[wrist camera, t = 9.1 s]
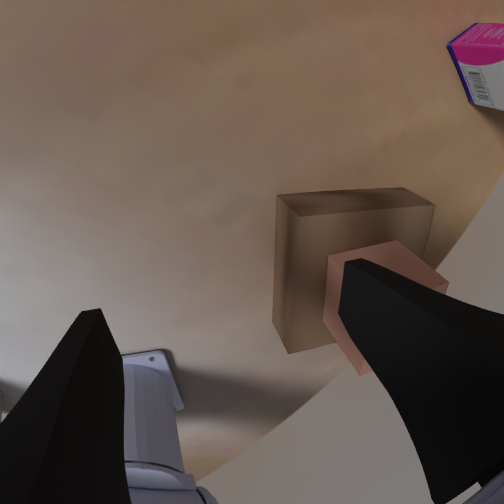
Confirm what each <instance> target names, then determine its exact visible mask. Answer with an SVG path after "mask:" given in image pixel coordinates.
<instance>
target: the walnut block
mask: <svg viewBox="0 0 504 504" xmlns="http://www.w3.org/2000/svg"><path fill="white" fill-rule="evenodd" d="M434 207H435V205H434V204H432V203H430V202H428V201H427V200H425V199H423V198H421V197H419V196H417V195H416V194H414V193H412V192H410V191H408V190H406V189H404V188H376V189H355V190H337V191H321V192H307V193H293V194H281V195H277V197H276V234H275V264H274V290H273V314H272V322H273V324H274V326H275V328H276V330H277V332H278V334H279V336H280V338H281V340H282V342H283V344H284V346H285V348H286V350H287V352H288V354H291V353H295V352H299V351H304V350H308V349H312V348H316V347H319V346H323V345H327V344H331V343H335V342H337V341H336V340H335V338H334V337H333V335H332V334H331V332H330V331H329V329H328V328H327V326H326V325H325V324H324V322H323V314H324V303H325V292H326V280H327V267H328V255H332V254H336V253H341V252H345V251H350V250H354V249H359V248H363V247H368V246H372V245H377V244H381V243H385V242H390V241H394V240H397V241H399V242H400V243H401V244H402V245H404V246H405V247H406V248H408V249H409V250H410V251H411V252H413V253H414V254H415V255H416V256H418V257H419V258H420V259H421V260H422V258H423V254H424V250H425V246H426V242H427V238H428V234H429V230H430V225H431V221H432V216H433V212H434Z"/></svg>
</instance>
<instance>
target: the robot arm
mask: <svg viewBox="0 0 504 504" xmlns="http://www.w3.org/2000/svg"><path fill="white" fill-rule="evenodd" d="M338 315H339V317H340V319H341V321H342V323H343V325H344V327H345V329H346V331H347V332H348V334H349V336H350V338H351V340H352V341H353V343H354V344H355V346H356V347H357V348H358V350H359V351H360V353H361V354H362V356H363V357H364V359H365V360H366V361H367V363H368V364H369V366H370V367H371V368H372V370H373V371H374V373H375V374H376V376H377V377H378V378H379V380H380V381H381V383H382V384H383V386H384V387H385V389H386V390H387V391H388V393H389V395H390V397H391V398H392V400H393V401H394V404H395V406H396V408H397V409H398V411H399V413H400V415H401V417H402V419H403V421H404V423H405V425H406V428H407V430H408V432H409V434H410V437H411V439H412V441H413V443H414V446H415V448H416V451H417V454H418V456H419V459H420V462H421V464H422V467H423V470H424V473H425V477H426V480H427V483H428V487H429V490H430V494H431V498H432V500H433V502H434V504H446V503H447V502H449V501H450V500H452V499H453V498H455V497H457V496H458V495H459V494H461V493H462V492H464V491H465V490H467V489H468V488H470V487H471V486H472V485H473V484H475V483H476V482H478V483H479V484H480V486H481V489H480V490H479V491H478V492H476V493H475V494H474V495H473V496H471V497H470V498H469V499H468V500H466V501H465V502H464V503H463V504H504V314H499V313H496V312H492V311H488V310H486V309H482V308H479V307H476V306H474V305H470V304H467V303H465V302H462V301H459V300H457V299H454V298H452V297H449V296H447V295H445V294H442V293H440V292H438V291H435V290H433V289H431V288H428V287H426V286H424V285H422V284H420V283H417V282H415V281H413V280H411V279H409V278H407V277H405V276H402V275H400V274H398V273H396V272H394V271H392V270H390V269H387V268H385V267H383V266H381V265H378V264H376V263H374V262H371V261H369V260H366V259H363V258H358V259H354V260H349V261H345V262H344V271H343V279H342V287H341V294H340V302H339V309H338ZM150 357H154V358H150ZM182 409H184V403H183V401H182V398H181V396H180V393H179V391H178V388H177V385H176V383H175V380H174V378H173V375H172V372H171V369H170V367H169V364H168V361H167V358H166V355H165V353H164V352H163V351H152V352H145V353H139V354H132V355H125V356H121V354H120V352H119V350H118V347H117V345H116V343H115V341H114V339H113V336H112V334H111V332H110V329H109V327H108V325H107V322H106V320H105V318H104V315H103V313H102V310H101V308H99V309H93V310H87V311H81V313H80V314H79V315H78V317H77V318H76V319H75V321H74V322H73V324H72V325H71V326H70V328H69V329H68V331H67V332H66V334H65V335H64V337H63V338H62V340H61V341H60V343H59V344H58V346H57V347H56V349H55V350H54V351H53V353H52V354H51V356H50V357H49V359H48V361H47V362H46V364H45V365H44V366H43V368H42V369H41V371H40V372H39V373H38V375H37V376H36V378H35V379H34V380H33V382H32V383H31V385H30V386H29V388H28V389H27V391H26V392H25V393H24V395H23V396H22V397H21V399H20V400H19V401H18V403H17V404H16V405H15V406H14V408H13V409H12V410H11V411H10V413H9V414H8V415H7V416H6V418H5V419H4V420H3V421H2V422H1V424H0V504H219V503H218V502H217V500H216V499H215V498H214V497H213V496H212V495H211V494H210V492H209V491H208V490H207V489H205V488H204V487H201V486H196V483H195V479H194V475H193V474H185V471H184V466H183V460H182V454H181V449H180V443H179V437H178V430H177V424H176V417H175V411H179V410H182Z"/></svg>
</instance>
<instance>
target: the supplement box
mask: <svg viewBox="0 0 504 504" xmlns="http://www.w3.org/2000/svg"><path fill="white" fill-rule="evenodd" d="M446 46H447V48H448V50H449V53H450V55H451V57H452V59H453V61H454V64H455V66H456V69H457V71H458V73H459V76H460V78H461V81H462V83H463V86H464V89H465V91H466V94H467V97H468V100H469V103H470V104H476V105H480V106H485V107H489V108H494V109H498V110H502V111H504V24H497V23H475V24H473V25H472V26H471V27H469V28H468V29H467V30H465V31H464V32H462V33H461V34H460V35H458V36H457V37H456V38H454V39H453V40H452V41H450V42H449V43H448V44H446Z"/></svg>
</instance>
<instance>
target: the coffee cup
mask: <svg viewBox="0 0 504 504" xmlns="http://www.w3.org/2000/svg"><path fill="white" fill-rule="evenodd" d="M2 408H3V395H2V393H1V392H0V424H1V417H2Z"/></svg>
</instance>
